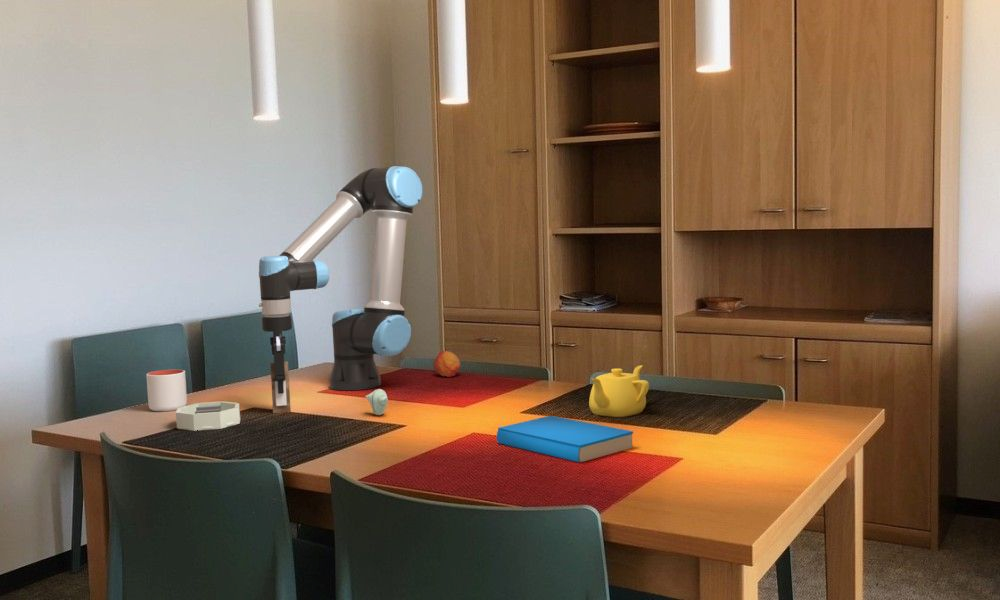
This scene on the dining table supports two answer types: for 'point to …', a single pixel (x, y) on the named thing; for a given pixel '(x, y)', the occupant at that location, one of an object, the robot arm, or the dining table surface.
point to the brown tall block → (275, 408)
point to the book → (565, 438)
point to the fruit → (447, 364)
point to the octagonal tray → (208, 416)
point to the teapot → (618, 393)
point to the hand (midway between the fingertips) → (281, 403)
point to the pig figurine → (378, 401)
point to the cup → (166, 390)
